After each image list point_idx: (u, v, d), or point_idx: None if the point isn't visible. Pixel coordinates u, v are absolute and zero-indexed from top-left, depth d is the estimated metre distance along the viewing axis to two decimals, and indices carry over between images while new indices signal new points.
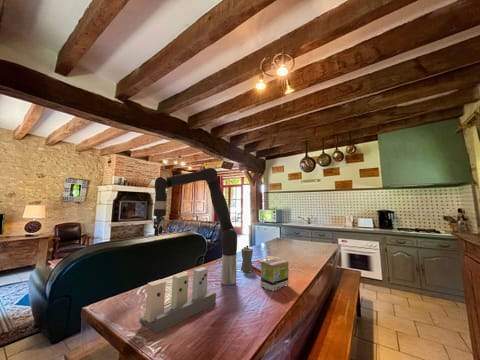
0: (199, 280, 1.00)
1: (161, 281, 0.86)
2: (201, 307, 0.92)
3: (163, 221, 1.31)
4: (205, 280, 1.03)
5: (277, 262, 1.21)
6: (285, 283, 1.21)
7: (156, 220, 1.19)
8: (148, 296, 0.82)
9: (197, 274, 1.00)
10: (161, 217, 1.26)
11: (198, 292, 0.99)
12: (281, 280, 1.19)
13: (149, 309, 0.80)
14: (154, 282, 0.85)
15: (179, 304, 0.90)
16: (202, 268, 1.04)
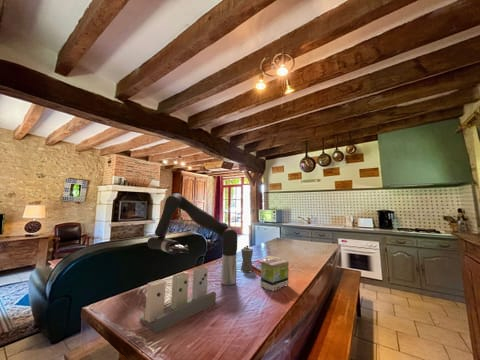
0: (199, 280, 1.00)
1: (161, 281, 0.86)
2: (201, 307, 0.92)
3: None
4: (205, 280, 1.03)
5: (277, 262, 1.21)
6: (285, 283, 1.21)
7: None
8: (148, 296, 0.82)
9: (197, 274, 1.00)
10: None
11: (198, 292, 0.99)
12: (281, 280, 1.19)
13: (149, 309, 0.80)
14: (154, 282, 0.85)
15: (179, 304, 0.90)
16: (202, 268, 1.04)
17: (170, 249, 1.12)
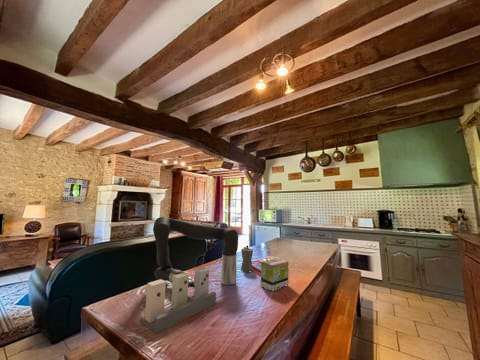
0: (201, 281, 0.99)
1: (161, 281, 0.86)
2: (201, 307, 0.92)
3: None
4: (207, 281, 1.02)
5: (277, 262, 1.21)
6: (285, 283, 1.21)
7: None
8: (148, 296, 0.82)
9: (199, 275, 0.99)
10: None
11: (200, 293, 0.98)
12: (281, 280, 1.19)
13: (149, 309, 0.80)
14: (154, 282, 0.85)
15: (179, 304, 0.90)
16: (204, 269, 1.03)
17: None
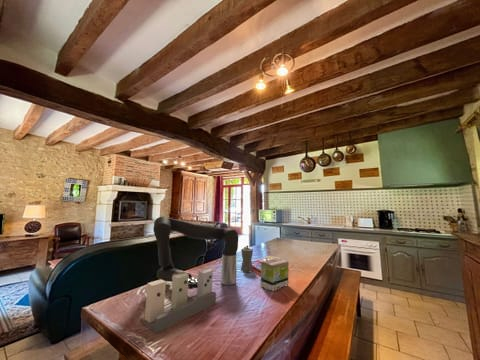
0: (204, 282, 0.97)
1: (161, 281, 0.86)
2: (201, 307, 0.92)
3: None
4: (210, 282, 1.00)
5: (277, 262, 1.21)
6: (285, 283, 1.21)
7: None
8: (148, 296, 0.82)
9: (202, 276, 0.97)
10: None
11: (203, 294, 0.96)
12: (281, 280, 1.19)
13: (149, 309, 0.80)
14: (154, 282, 0.85)
15: (179, 304, 0.90)
16: (207, 270, 1.02)
17: None
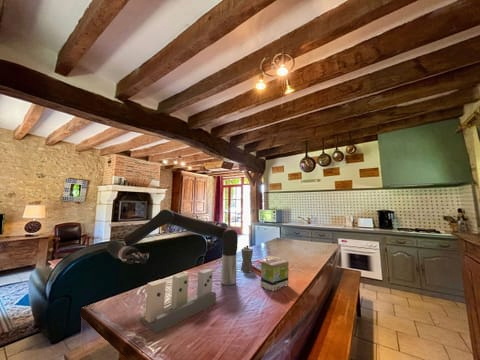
0: (204, 282, 0.97)
1: (161, 281, 0.86)
2: (201, 307, 0.92)
3: None
4: (210, 282, 1.00)
5: (277, 262, 1.21)
6: (285, 283, 1.21)
7: (148, 256, 1.02)
8: (148, 296, 0.82)
9: (202, 276, 0.97)
10: None
11: (203, 294, 0.96)
12: (281, 280, 1.19)
13: (149, 309, 0.80)
14: (154, 282, 0.85)
15: (179, 304, 0.90)
16: (207, 270, 1.02)
17: (124, 259, 0.93)
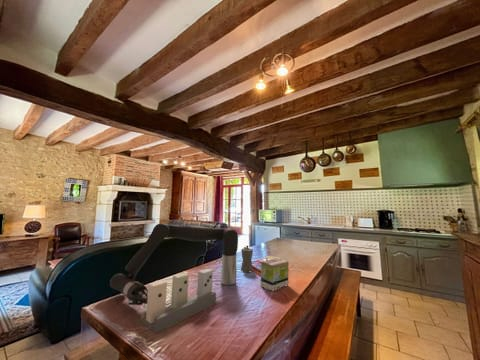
0: (204, 282, 0.97)
1: (162, 282, 0.85)
2: (201, 307, 0.92)
3: None
4: (210, 282, 1.00)
5: (277, 262, 1.21)
6: (285, 283, 1.21)
7: None
8: (149, 297, 0.81)
9: (202, 276, 0.97)
10: None
11: (203, 294, 0.96)
12: (281, 280, 1.19)
13: (150, 310, 0.80)
14: (156, 282, 0.84)
15: (179, 304, 0.90)
16: (207, 270, 1.02)
17: (130, 300, 0.85)
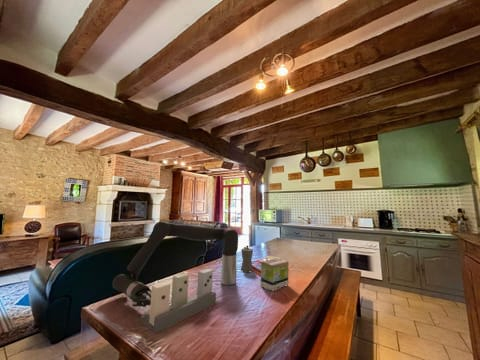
0: (204, 282, 0.97)
1: (166, 283, 0.83)
2: (201, 307, 0.92)
3: None
4: (210, 282, 1.00)
5: (277, 262, 1.21)
6: (285, 283, 1.21)
7: None
8: (153, 299, 0.80)
9: (202, 276, 0.97)
10: None
11: (203, 294, 0.96)
12: (281, 280, 1.19)
13: (154, 312, 0.78)
14: (159, 284, 0.82)
15: (179, 304, 0.90)
16: (207, 270, 1.02)
17: (134, 302, 0.83)
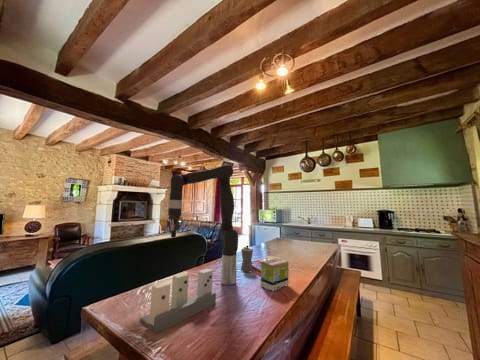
0: (204, 282, 0.97)
1: (166, 283, 0.83)
2: (201, 307, 0.92)
3: (176, 224, 1.16)
4: (210, 282, 1.00)
5: (277, 262, 1.21)
6: (285, 283, 1.21)
7: None
8: (153, 299, 0.80)
9: (202, 276, 0.97)
10: (173, 217, 1.18)
11: (203, 294, 0.96)
12: (281, 280, 1.19)
13: (154, 312, 0.78)
14: (159, 284, 0.82)
15: (179, 304, 0.90)
16: (207, 270, 1.02)
17: (180, 223, 1.16)
